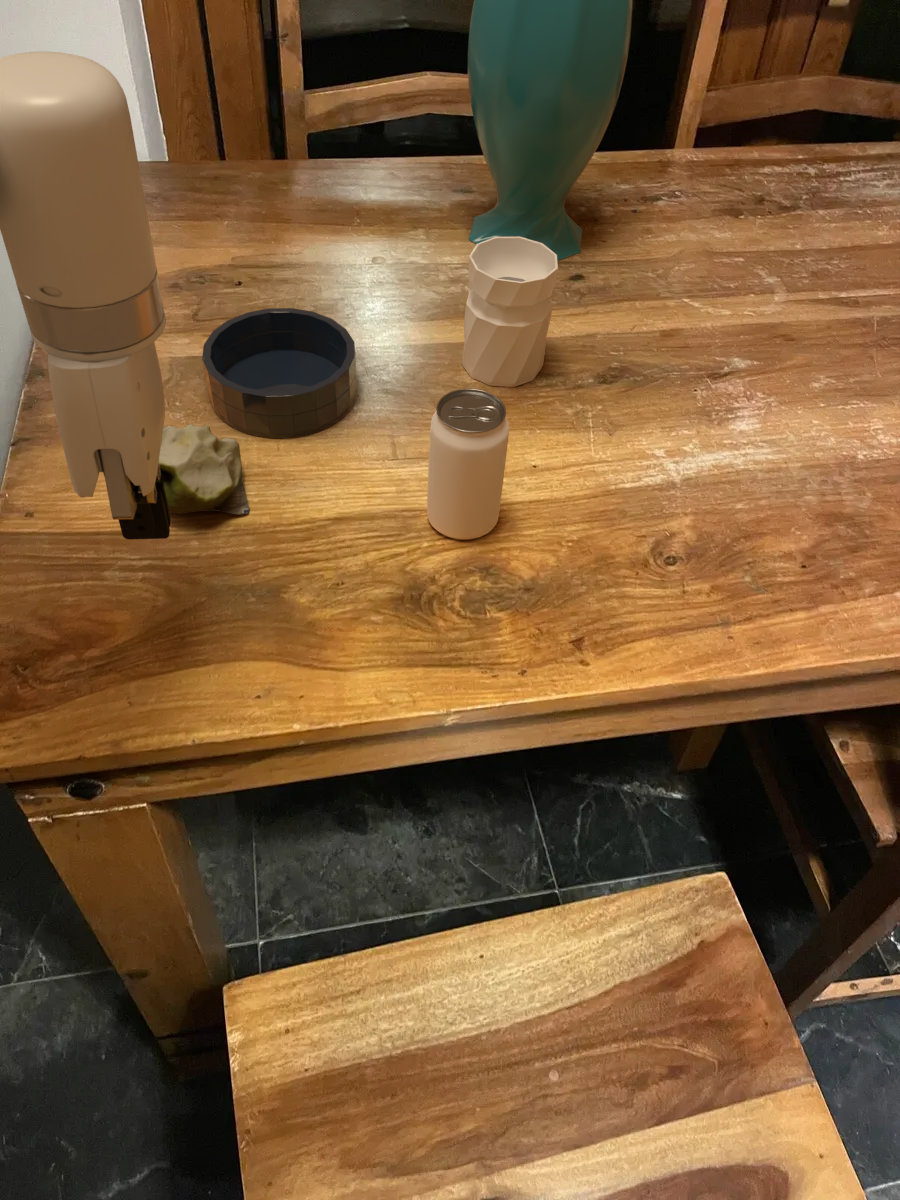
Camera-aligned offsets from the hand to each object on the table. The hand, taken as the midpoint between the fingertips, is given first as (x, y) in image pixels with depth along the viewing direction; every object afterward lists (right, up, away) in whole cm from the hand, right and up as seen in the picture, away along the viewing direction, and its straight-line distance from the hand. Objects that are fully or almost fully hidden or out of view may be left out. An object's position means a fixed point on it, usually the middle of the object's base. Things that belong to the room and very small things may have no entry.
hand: (147, 530), depth 67 cm
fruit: (-1, +4, +17) cm, 18 cm away
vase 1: (+31, +41, +51) cm, 72 cm away
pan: (+5, +16, +27) cm, 32 cm away
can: (+23, +2, +17) cm, 29 cm away
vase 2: (+27, +20, +33) cm, 47 cm away
